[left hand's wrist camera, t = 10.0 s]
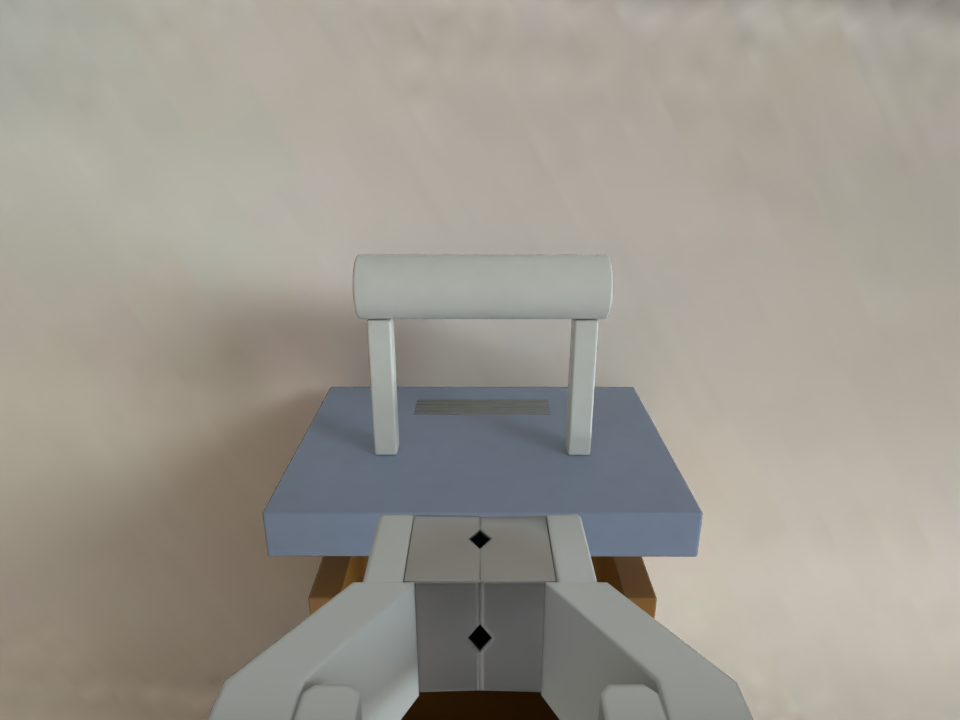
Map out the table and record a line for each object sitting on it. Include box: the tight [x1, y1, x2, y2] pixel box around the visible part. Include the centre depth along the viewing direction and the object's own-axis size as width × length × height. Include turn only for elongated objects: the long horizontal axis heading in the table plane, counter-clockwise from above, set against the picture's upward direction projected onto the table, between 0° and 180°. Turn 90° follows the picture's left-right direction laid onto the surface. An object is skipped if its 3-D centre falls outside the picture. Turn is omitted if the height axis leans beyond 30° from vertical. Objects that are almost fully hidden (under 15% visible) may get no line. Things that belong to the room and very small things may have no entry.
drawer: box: [263, 255, 703, 720], centre depth 21 cm, size 22×10×8 cm, turn 0°
